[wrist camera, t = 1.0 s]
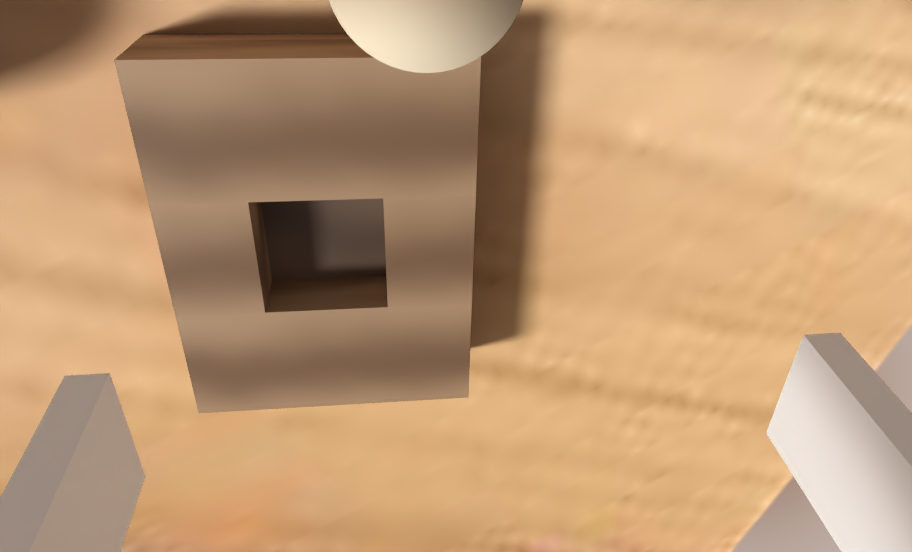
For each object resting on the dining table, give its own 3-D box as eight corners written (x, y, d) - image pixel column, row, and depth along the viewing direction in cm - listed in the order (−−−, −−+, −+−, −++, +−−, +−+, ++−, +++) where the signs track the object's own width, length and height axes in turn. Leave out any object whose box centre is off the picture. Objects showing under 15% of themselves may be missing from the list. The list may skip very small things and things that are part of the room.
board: (143, 34, 30) (114, 60, 26) (468, 32, 31) (481, 56, 28) (213, 363, 39) (198, 413, 36) (460, 350, 41) (468, 397, 37)
